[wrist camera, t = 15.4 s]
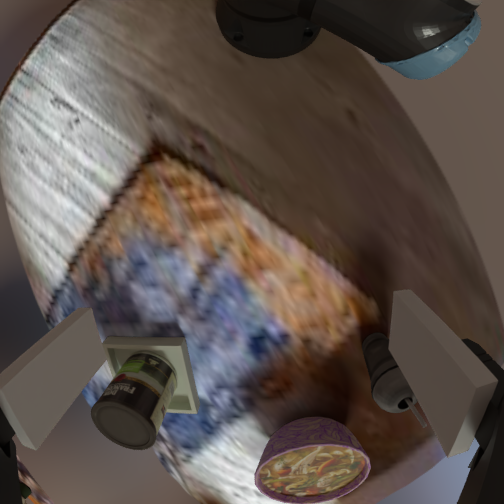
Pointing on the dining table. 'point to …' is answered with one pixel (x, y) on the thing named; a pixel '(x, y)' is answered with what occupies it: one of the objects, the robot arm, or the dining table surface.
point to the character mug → (24, 492)
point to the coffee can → (136, 401)
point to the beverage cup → (387, 377)
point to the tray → (168, 349)
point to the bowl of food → (311, 462)
